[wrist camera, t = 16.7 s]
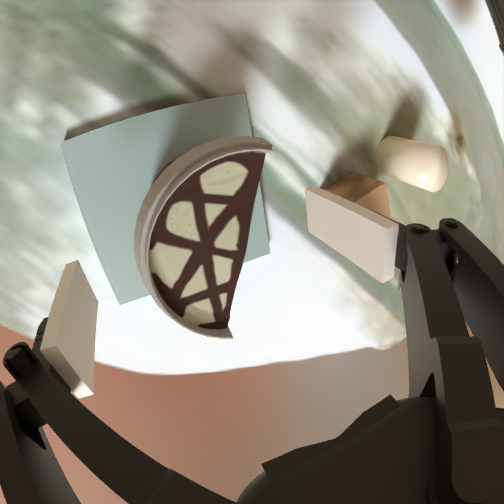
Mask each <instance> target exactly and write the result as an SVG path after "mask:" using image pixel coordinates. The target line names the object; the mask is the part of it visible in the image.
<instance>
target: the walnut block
mask: <svg viewBox="0 0 504 504" xmlns="http://www.w3.org/2000/svg"><path fill="white" fill-rule="evenodd" d="M324 190H326V191H328V192H331V193H333V194H335V195H337V196H340V197H342V198H344V199H347V200H349V201H351V202H353V203H355V204H358V205H360V206H362V207H364V208H366V209H368V210H371V211H375V212H378V213H380V214H382V215H383V216H386V217H388V218H389V219H391V214H390V207H389V201H388V195H387V189H386V184H385V182H382V181H379V180H376V179H373V178H370V177H367V176H364V175H361V174H358V173H355V172H352V173H350V174H349V175H347V176H345V177H343V178H342V179H340V180H338V181H336V182H335V183H333V184H331V185H329V186H328V187H326V188H324Z"/></svg>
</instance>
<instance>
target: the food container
mask: <svg viewBox="0 0 504 504" xmlns="http://www.w3.org/2000/svg"><path fill="white" fill-rule="evenodd" d="M271 148H272V144H270V143H269V142H267V141H266V140H265V139H263V138H259V137H251V136H234V137H226V138H221V139H217V140H212V141H209V142H207V143H204V144H202V145H200V146H197V147H195V148H193V149H191V150H190V151H188V152H186V153H185V154H183V155H181V156H180V157H178V158H176V159H175V160H173V161H171V162H170V163H168V164H167V165H166V166H165V167H164V168H163V170H162V171H161V172H160V173H159V174H158V175H157V176H156V178H155V180H154V182H153V184H152V186H151V188H150V189H149V191H148V193H147V195H146V196H145V198H144V200H143V202H142V205H141V208H140V210H139V213H138V216H137V220H136V226H135V232H134V254H135V259H136V264H137V268H138V271H139V273H140V276H141V278H142V281H143V283H144V284H145V286H146V288H147V289H148V291H149V293H150V294H151V296H152V297H153V299H154V300H155V302H156V304H157V305H158V306H159V307H160V308H161V309H162V310H163V311H164V312H165V314H166V315H168V316H169V317H170V318H172V319H173V320H174V321H176V322H177V323H179V324H180V325H181V326H183V327H185V328H187V329H189V330H191V331H193V332H195V333H197V334H201V335H204V336H207V337H214V338H221V339H233V336H232V334H231V332H230V330H229V327H228V321H229V319H230V310H231V305H232V300H233V296H234V292H235V288H236V284H237V281H238V277H239V274H240V271H241V268H242V265H243V261H244V257H245V254H246V250H247V244H248V238H249V231H250V225H251V219H252V213H253V208H254V203H255V198H256V194H257V189H258V185H259V180H260V176H261V172H262V167H263V163H264V159H265V154H266V153H277V151H275V150H272V149H271Z"/></svg>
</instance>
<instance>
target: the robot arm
mask: <svg viewBox="0 0 504 504" xmlns="http://www.w3.org/2000/svg"><path fill="white" fill-rule="evenodd" d="M485 2H486V4H487V7H488V10H489V12H490V15H491V18H492V20H493V23H494V26H495V29H496V32H497V35H498V39H499V42H500V44H499V46H500V50H501V51H502V53H503V55H504V0H485ZM305 197H306V208H307V220H308V232H310V233H311V234H313V235H314V236H316V237H317V238H319V239H320V240H322V241H323V242H325V243H326V244H327V245H329V246H330V247H332V248H333V249H335V250H336V251H338V252H339V253H340V254H342V255H343V256H345V257H346V258H348V259H349V260H350V261H352V262H353V263H355V264H356V265H357V266H359V267H360V268H362V269H363V270H364V271H366V272H367V273H369V274H370V275H371V276H373V277H374V278H376V279H377V280H378V281H380V282H381V283H384V282H386V281H388V280H390V279H392V278H393V277H394V270H395V266H396V267H397V268H399V269H400V277H399V284H398V290H400V287H401V290H402V298H403V306H404V314H405V323H406V334H407V347H408V363H409V397H408V398H405V399H401V400H397V401H396V400H395V399H394V398H393V397H392V396H391V395H389V396H387V397H386V398H385V399H383V400H382V401H380V402H379V403H377V404H376V405H374V406H373V407H371V408H369V409H368V410H366V411H364V412H363V413H362V414H361V415H360V416H359V417H358V418H357V419H356V420H355V421H354V422H353V423H352V424H351V425H350V426H349V427H348V428H347V429H346V430H345V431H344V432H343V433H342V434H341V435H340V436H338V437H337V438H335V439H332V440H328V441H325V442H321V443H317V444H313V445H309V446H306V447H301V448H297V449H295V450H292V451H290V452H288V453H286V454H284V455H282V456H279V457H277V458H274V459H272V460H270V461H267V462H265V463H262V466H263V469H264V472H263V473H261V474H260V475H259V476H257V477H256V478H255V479H254V480H253V481H252V482H250V483H249V485H248V486H247V487H246V488H245V489H244V491H243V492H242V493H241V495H240V497H239V499H238V500H237V502H233V501H231V500H229V499H227V498H225V497H223V496H221V495H219V494H216V493H214V492H212V491H210V490H208V489H206V488H205V487H203V486H201V485H199V484H197V483H195V482H193V481H191V480H190V479H188V478H186V477H184V476H183V475H181V474H179V473H177V472H176V471H174V470H172V469H168V468H166V467H164V466H163V465H161V464H160V463H158V462H156V461H155V460H154V459H152V458H151V457H149V456H148V455H146V454H145V453H143V452H141V451H140V450H139V449H137V448H136V447H135V446H133V445H132V444H131V443H129V442H128V441H126V440H125V439H124V438H122V437H121V436H120V435H119V434H117V433H116V432H115V431H113V430H112V429H111V428H110V427H108V426H107V425H106V424H105V423H104V422H102V421H101V420H100V419H99V418H98V417H96V416H95V415H94V414H93V413H92V412H91V411H89V410H88V409H87V408H86V407H85V406H84V405H83V404H81V402H79V401H78V400H77V399H76V398H75V397H74V396H73V395H72V394H71V390H72V391H73V393H74V394H75V395H76V396H77V397H78V398H81V397H85V396H89V395H93V394H94V352H95V333H96V320H97V308H98V301H97V299H96V297H95V295H94V293H93V291H92V289H91V287H90V285H89V283H88V281H87V278H86V276H85V274H84V272H83V270H82V268H81V265H80V263H79V261H78V260H77V261H74V262H71V263H68V264H66V266H65V269H64V271H63V274H62V277H61V280H60V283H59V286H58V288H57V291H56V294H55V298H54V301H53V304H52V307H51V310H50V314H49V317H47V318H44V319H43V321H42V322H41V324H40V325H39V327H38V330H37V334H36V335H37V336H36V337H35V342H34V344H33V348H32V350H31V349H30V347H29V346H28V345H27V344H26V343H25V342H19V343H17V344H15V345H13V346H12V347H11V348H10V349H9V350H8V351H7V352H6V354H5V356H4V358H3V365H4V366H5V368H6V369H7V370H8V371H9V372H10V374H11V375H12V376H13V377H14V379H15V380H16V381H15V382H13V383H12V384H10V385H8V386H7V387H5V386H4V385H3V383H2V382H1V381H0V485H1V488H2V491H3V494H4V497H5V499H6V502H7V504H81V503H80V501H79V500H78V498H77V496H76V494H75V493H74V491H73V490H72V488H71V486H70V484H69V482H68V481H67V479H66V477H65V475H64V473H63V471H62V469H61V467H60V465H59V463H58V461H57V459H56V457H55V455H54V453H53V451H52V448H51V446H50V444H49V442H48V439H47V437H46V435H45V432H44V430H43V428H42V426H44V425H45V424H47V423H48V425H49V426H50V427H51V428H52V429H53V431H54V432H55V433H56V434H57V435H58V436H59V438H60V439H61V440H62V441H63V442H64V443H65V445H66V446H67V447H68V448H69V449H70V450H71V451H72V452H73V453H74V454H75V455H76V456H77V457H78V458H79V459H80V460H81V461H82V462H83V463H84V464H85V465H86V466H87V467H88V468H89V469H90V470H91V471H92V472H93V473H94V474H95V475H96V476H97V477H98V478H99V479H100V480H101V481H103V482H104V483H105V484H106V485H107V486H108V487H109V488H110V489H112V490H113V491H114V492H115V493H116V494H117V495H119V496H120V497H121V498H122V499H124V500H125V501H126V502H127V503H129V504H504V408H495V402H494V397H493V390H492V386H491V381H490V376H489V371H488V367H487V363H486V359H487V361H488V363H489V365H490V367H491V369H492V371H493V373H494V375H495V377H496V379H497V381H498V383H499V385H500V386H501V388H502V389H503V391H504V265H503V264H502V263H501V262H500V260H499V259H498V258H497V257H496V256H495V255H494V254H493V253H492V252H491V251H490V250H489V249H488V248H487V247H486V246H485V245H484V244H483V243H482V242H481V241H480V240H479V239H478V238H477V237H476V236H475V235H474V234H473V233H472V232H471V231H470V230H468V229H467V228H466V227H465V226H464V225H463V224H462V223H461V222H459V221H457V220H455V219H453V218H445V219H442V220H440V223H439V229H436V230H431V229H430V228H429V227H427V226H425V225H422V224H416V223H414V224H409V225H407V226H405V225H403V224H401V223H399V222H397V221H394V220H392V219H389V218H388V217H386V216H383V215H382V214H380V213H378V212H375V211H371V210H368V209H366V208H364V207H362V206H360V205H358V204H355V203H353V202H351V201H349V200H347V199H344V198H342V197H340V196H337V195H335V194H333V193H331V192H328V191H326V190H324V189H321V188H319V187H316V186H314V187H311V188H307V189H305ZM457 259H458V264H457ZM465 321H466V323H467V325H468V326H469V328H470V329H471V331H472V333H473V335H474V337H470V336H469V333H468V330H467V326H466V323H465ZM485 357H486V359H485Z"/></svg>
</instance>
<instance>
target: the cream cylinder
mask: <svg viewBox="0 0 504 504" xmlns="http://www.w3.org/2000/svg"><path fill="white" fill-rule="evenodd" d="M376 161H377V166H378V168H379V170H380V172H381V173H382V174H383V175H385V176H388V177H391V178H394V179H397V180H400V181H403V182H406V183H409V184H412V185H414V186H417V187H420V188H423V189H426V190H428V191H431V192H436V191H438V190H439V189H440V188H441V187H442V186H443V184H444V182H445V180H446V177H447V174H448V156H447V153H446V151H445V149H444V148H443V147H441V146H438V145H434V144H430V143H425V142H421V141H416V140H411V139H406V138H401V137H396V136H387V137H385V138H384V139H383V140H382V141H381V142H380V144H379V146H378V149H377V155H376Z"/></svg>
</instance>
